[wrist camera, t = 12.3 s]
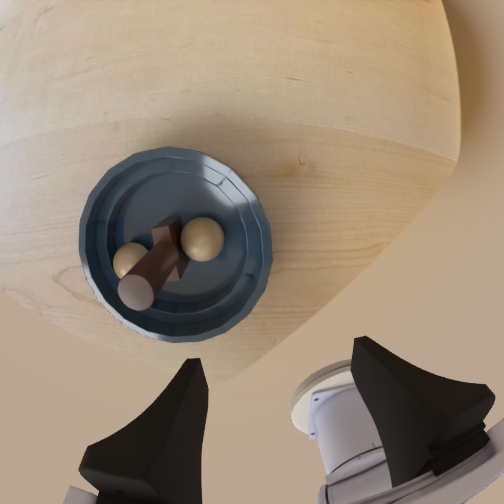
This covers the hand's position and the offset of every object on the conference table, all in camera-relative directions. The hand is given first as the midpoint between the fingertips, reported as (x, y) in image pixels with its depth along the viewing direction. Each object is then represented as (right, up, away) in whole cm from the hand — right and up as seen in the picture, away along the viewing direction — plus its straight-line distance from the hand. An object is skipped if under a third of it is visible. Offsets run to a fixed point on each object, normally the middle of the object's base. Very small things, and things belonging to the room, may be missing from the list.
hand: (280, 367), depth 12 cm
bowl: (-7, +6, +9) cm, 13 cm away
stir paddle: (-7, +6, +8) cm, 12 cm away
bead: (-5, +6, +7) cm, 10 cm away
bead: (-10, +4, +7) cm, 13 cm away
